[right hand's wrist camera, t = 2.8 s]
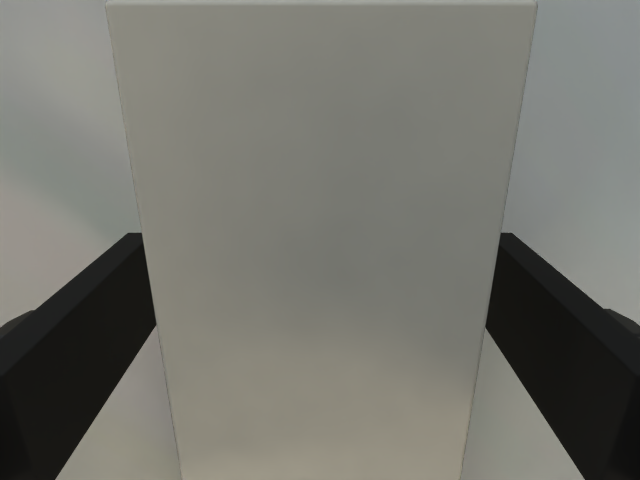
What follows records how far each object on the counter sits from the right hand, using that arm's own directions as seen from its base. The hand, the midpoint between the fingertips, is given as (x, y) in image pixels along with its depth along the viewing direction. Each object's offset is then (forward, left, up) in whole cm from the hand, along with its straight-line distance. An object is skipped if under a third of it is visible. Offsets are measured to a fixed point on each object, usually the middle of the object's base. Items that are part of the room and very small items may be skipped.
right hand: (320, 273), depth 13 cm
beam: (-3, -31, -2) cm, 31 cm away
